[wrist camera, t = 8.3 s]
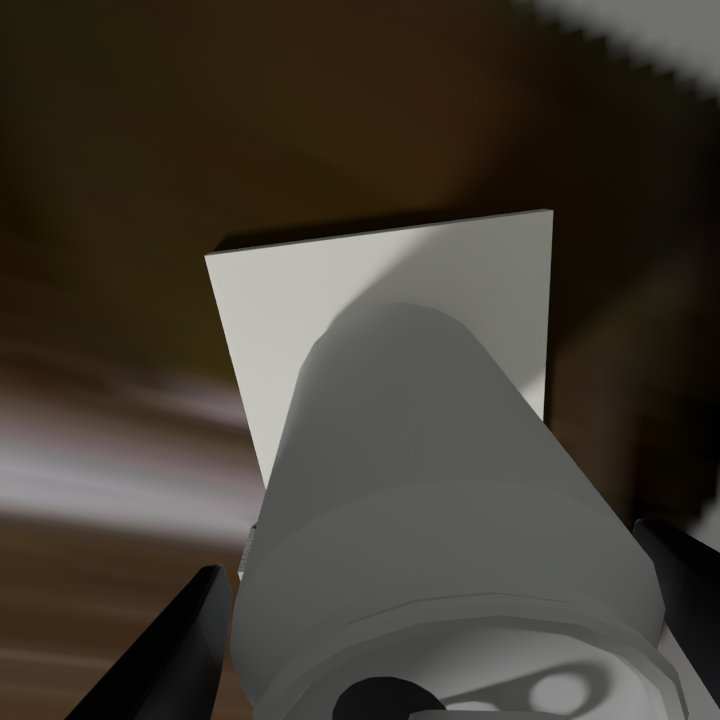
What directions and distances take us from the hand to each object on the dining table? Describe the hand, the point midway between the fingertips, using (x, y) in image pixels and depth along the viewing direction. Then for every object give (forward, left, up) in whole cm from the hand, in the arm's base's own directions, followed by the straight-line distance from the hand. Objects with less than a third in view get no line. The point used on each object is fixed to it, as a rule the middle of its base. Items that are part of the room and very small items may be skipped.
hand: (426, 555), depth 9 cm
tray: (0, 0, -9) cm, 9 cm away
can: (0, 0, -8) cm, 8 cm away
